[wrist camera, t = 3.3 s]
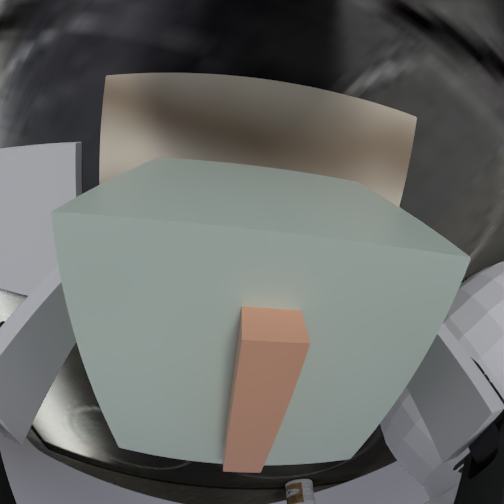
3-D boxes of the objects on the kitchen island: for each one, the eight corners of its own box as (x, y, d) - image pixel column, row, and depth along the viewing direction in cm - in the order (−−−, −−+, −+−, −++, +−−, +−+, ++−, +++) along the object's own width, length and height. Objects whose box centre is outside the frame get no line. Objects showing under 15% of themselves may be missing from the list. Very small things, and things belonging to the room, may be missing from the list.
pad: (-25, 152, 14) (-32, 154, 14) (82, 141, 15) (75, 143, 14) (-6, 281, 19) (-11, 285, 18) (94, 303, 20) (90, 309, 19)
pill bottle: (294, 477, 35) (299, 518, 28) (317, 478, 36) (323, 517, 29) (279, 485, 36) (283, 524, 29) (301, 486, 37) (306, 523, 30)
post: (114, 77, 14) (-21, 53, 4) (407, 116, 15) (548, 137, 5) (120, 327, 21) (69, 443, 11) (343, 347, 22) (384, 462, 13)
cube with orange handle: (157, 157, 12) (22, 229, 4) (357, 181, 13) (496, 277, 5) (158, 323, 16) (113, 467, 8) (316, 337, 17) (355, 478, 8)
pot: (379, 439, 31) (409, 540, 16) (334, 326, 22) (406, 539, 6) (522, 351, 27) (574, 425, 12) (543, 202, 17) (656, 280, 2)
